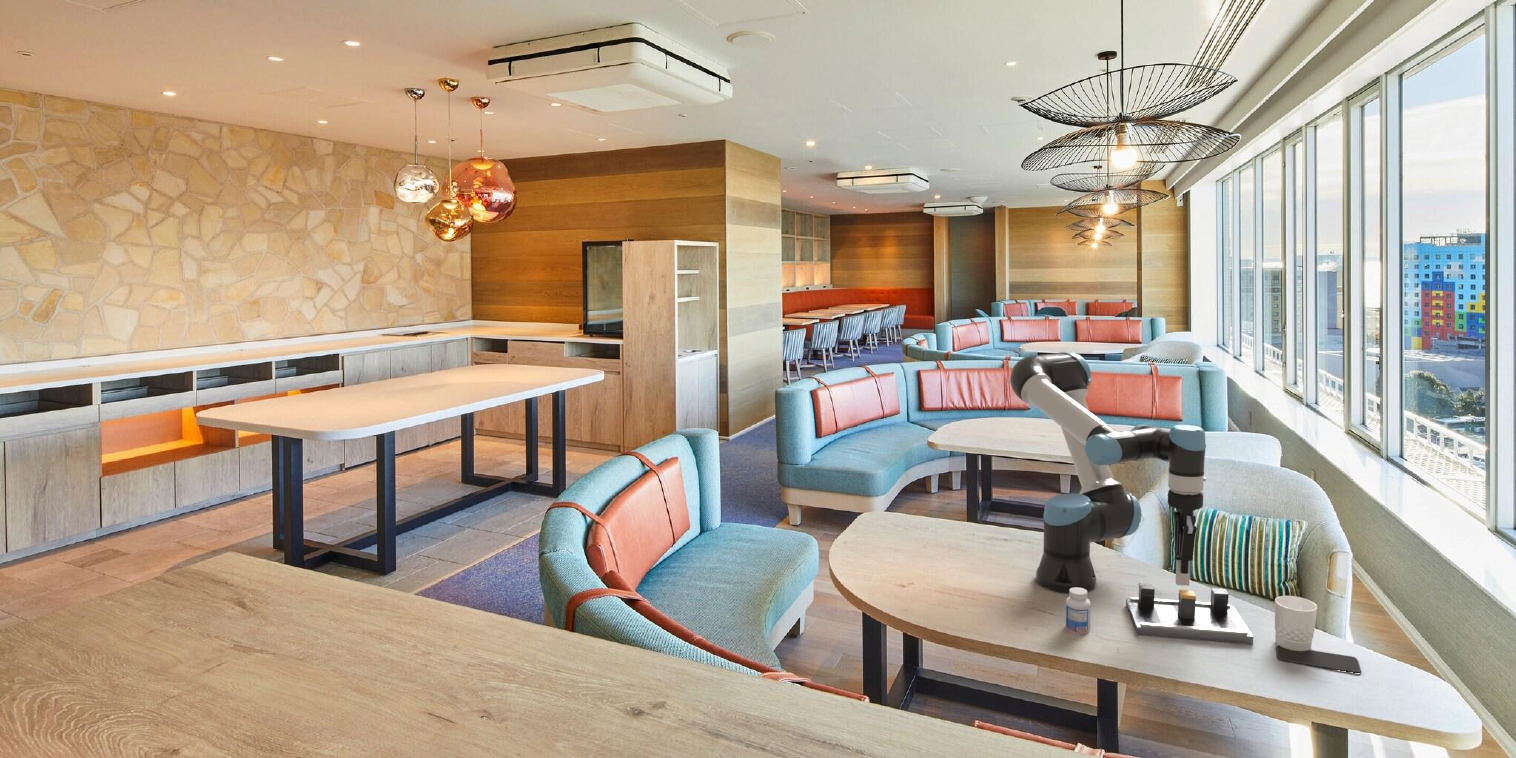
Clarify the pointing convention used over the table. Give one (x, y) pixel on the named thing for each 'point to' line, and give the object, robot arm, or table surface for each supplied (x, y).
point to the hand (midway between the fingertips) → (1182, 584)
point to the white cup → (1294, 622)
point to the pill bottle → (1078, 611)
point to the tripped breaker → (1186, 604)
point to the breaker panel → (1208, 625)
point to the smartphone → (1319, 659)
